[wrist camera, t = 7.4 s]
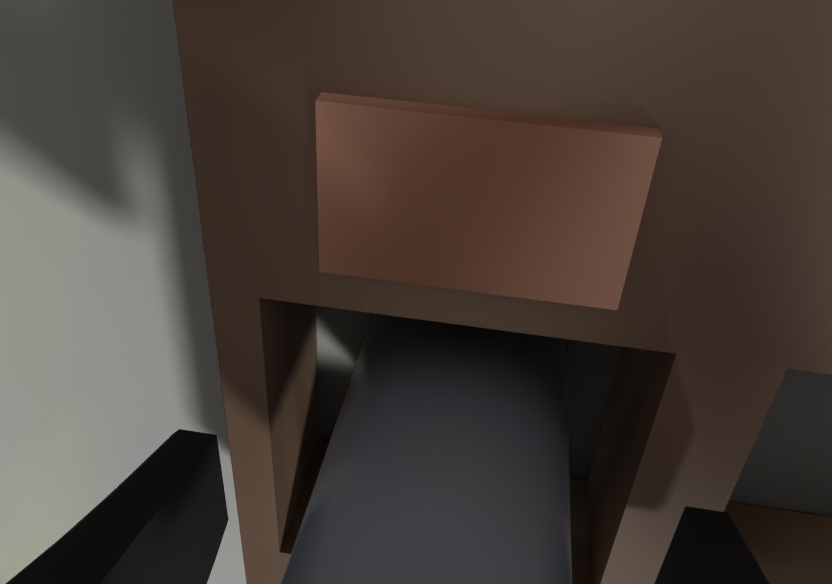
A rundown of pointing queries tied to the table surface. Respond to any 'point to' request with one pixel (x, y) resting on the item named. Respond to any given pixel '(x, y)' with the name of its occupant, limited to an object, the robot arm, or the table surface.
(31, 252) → the table surface
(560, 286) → the socket board
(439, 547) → the plug
